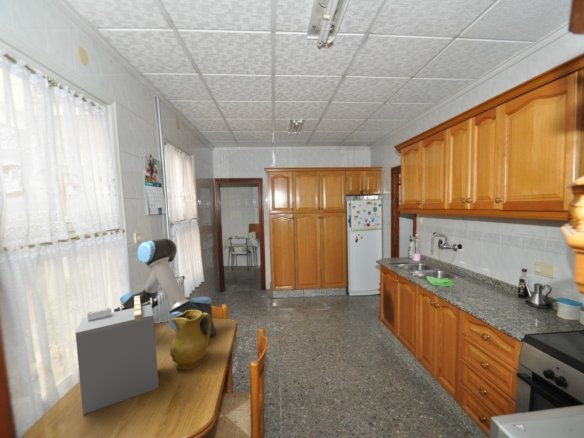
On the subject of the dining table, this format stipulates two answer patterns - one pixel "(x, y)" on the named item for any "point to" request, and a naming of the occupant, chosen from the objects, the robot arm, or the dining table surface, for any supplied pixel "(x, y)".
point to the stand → (116, 358)
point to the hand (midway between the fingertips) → (136, 303)
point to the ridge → (99, 314)
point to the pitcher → (190, 339)
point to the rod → (137, 308)
